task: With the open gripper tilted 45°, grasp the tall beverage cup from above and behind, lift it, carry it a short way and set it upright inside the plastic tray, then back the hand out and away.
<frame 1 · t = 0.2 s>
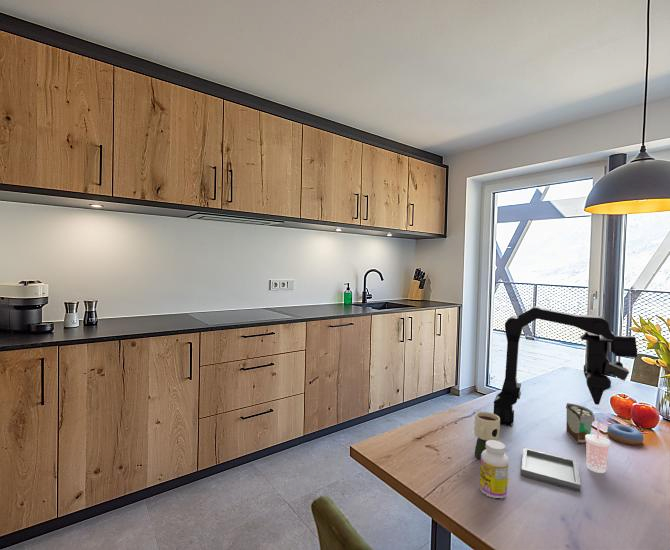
hand: (595, 399, 125), 14 cm above the table, tool pointing down, fingers open, 9 cm apart
character mug: (485, 458, 114), on the table
tray: (549, 471, 108), on the table
beverage cup: (595, 469, 110), on the table
supplement bottle: (492, 492, 98), on the table
food container: (581, 439, 128), on the table
doughnut: (624, 440, 129), on the table
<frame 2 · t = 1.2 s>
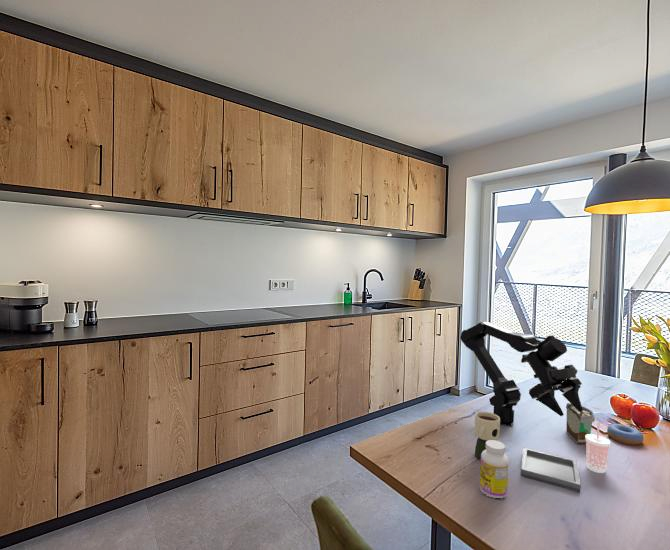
hand: (572, 413, 117), 13 cm above the table, tool tilted 45°, fingers open, 9 cm apart
nothing on the table moved.
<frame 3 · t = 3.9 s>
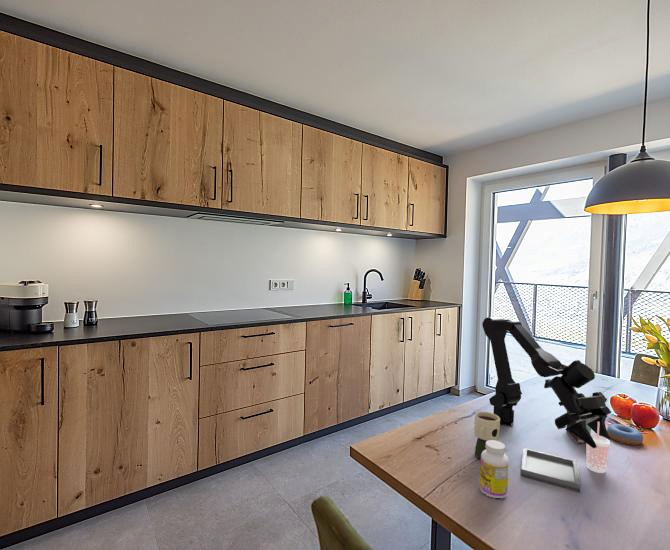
hand: (602, 445, 108), 8 cm above the table, tool tilted 45°, fingers closed on beverage cup, 6 cm apart
beverage cup: (595, 469, 110), on the table, touching gripper
everything else where it was.
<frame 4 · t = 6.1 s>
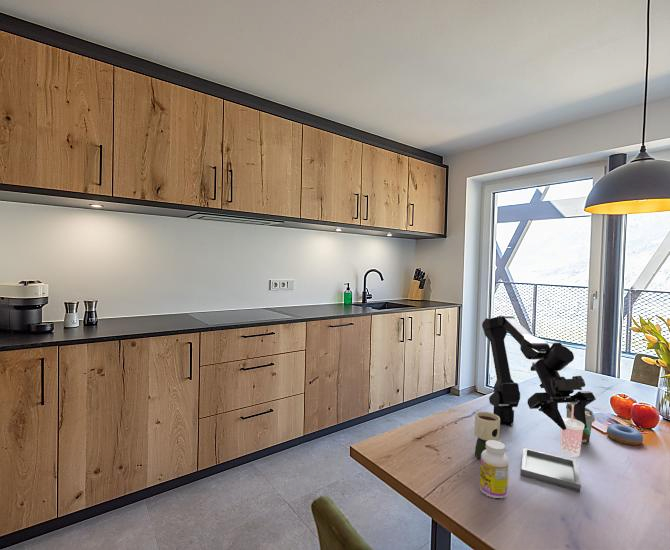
hand: (575, 429, 106), 13 cm above the table, tool tilted 45°, fingers closed on beverage cup, 6 cm apart
beverage cup: (570, 453, 108), point 5 cm above the table, touching gripper
everything else where it was.
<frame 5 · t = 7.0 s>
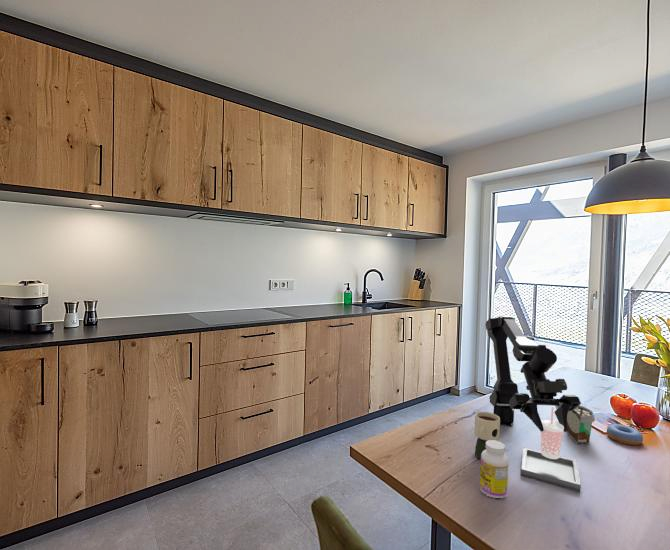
hand: (553, 431, 106), 12 cm above the table, tool tilted 45°, fingers closed on beverage cup, 6 cm apart
beverage cup: (549, 455, 108), point 5 cm above the table, touching gripper
everything else where it was.
when the fingers open (9 cm above the table, at t = 8.5 s): beverage cup stays where it is, resting on tray.
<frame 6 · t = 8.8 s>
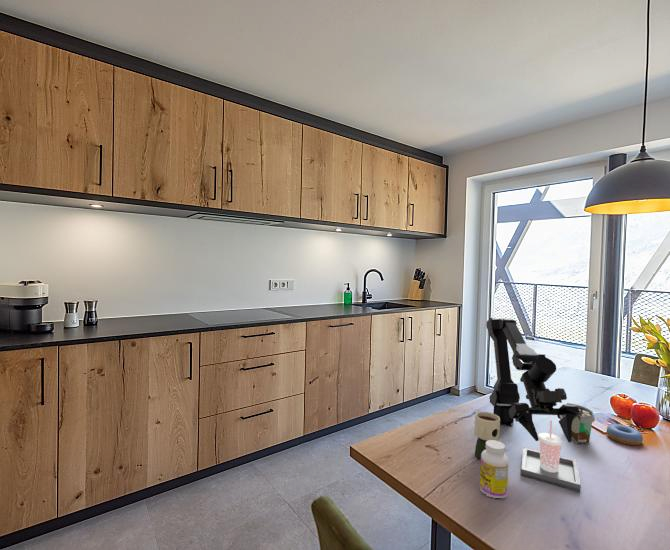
hand: (553, 441, 106), 10 cm above the table, tool tilted 45°, fingers open, 9 cm apart
beverage cup: (549, 468, 108), point 1 cm above the table, touching tray
everything else where it was.
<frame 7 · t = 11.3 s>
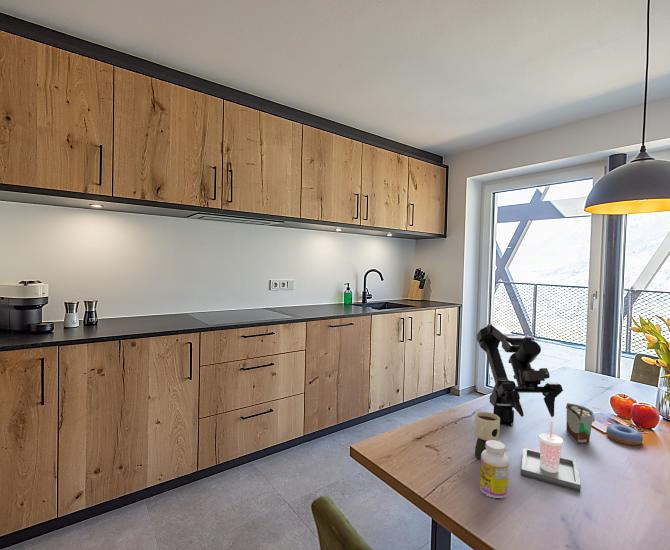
hand: (537, 416, 116), 13 cm above the table, tool tilted 45°, fingers open, 9 cm apart
nothing on the table moved.
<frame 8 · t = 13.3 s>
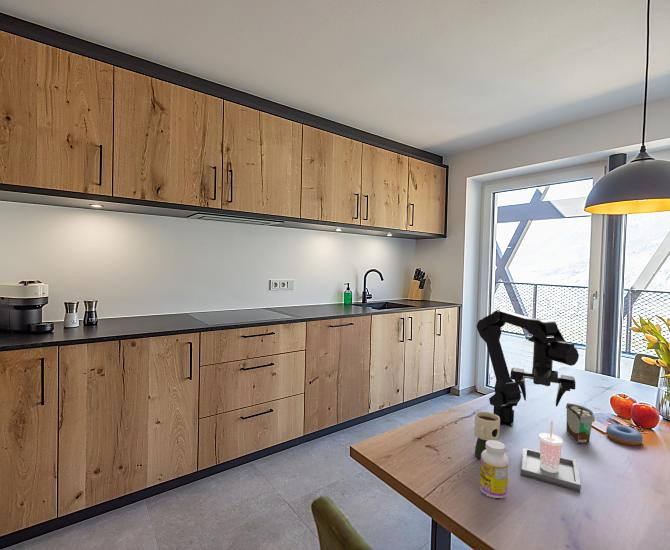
hand: (540, 403, 125), 13 cm above the table, tool pointing down, fingers open, 9 cm apart
nothing on the table moved.
at the end: beverage cup inside the target area on the tray (0.2 cm from its centre), point 0.6 cm above the tray's base; beverage cup tilted 0°; the gripper is holding nothing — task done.
